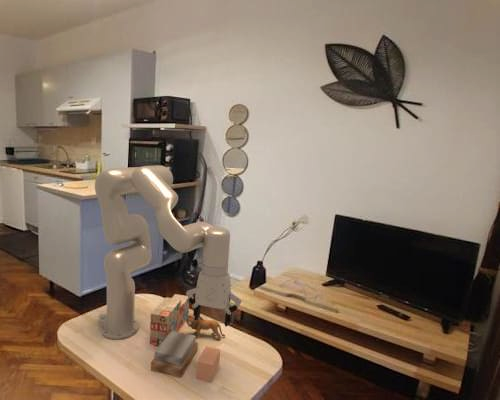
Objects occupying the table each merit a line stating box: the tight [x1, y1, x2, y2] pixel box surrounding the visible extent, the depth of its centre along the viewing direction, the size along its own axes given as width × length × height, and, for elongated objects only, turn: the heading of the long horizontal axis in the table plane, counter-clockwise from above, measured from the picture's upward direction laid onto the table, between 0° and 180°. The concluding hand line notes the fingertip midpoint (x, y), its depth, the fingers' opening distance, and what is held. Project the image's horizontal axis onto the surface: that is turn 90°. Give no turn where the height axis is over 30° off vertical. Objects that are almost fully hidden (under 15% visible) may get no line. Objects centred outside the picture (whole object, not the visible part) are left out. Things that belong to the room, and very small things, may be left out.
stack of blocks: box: [149, 293, 190, 347], centre depth 126 cm, size 21×6×12 cm, turn 169°
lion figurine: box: [185, 313, 226, 341], centre depth 124 cm, size 15×5×9 cm, turn 95°
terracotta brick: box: [195, 346, 221, 383], centre depth 106 cm, size 5×8×6 cm, turn 168°
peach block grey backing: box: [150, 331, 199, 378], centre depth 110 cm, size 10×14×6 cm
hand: (212, 321), depth 103 cm, fingers open, 9 cm apart
